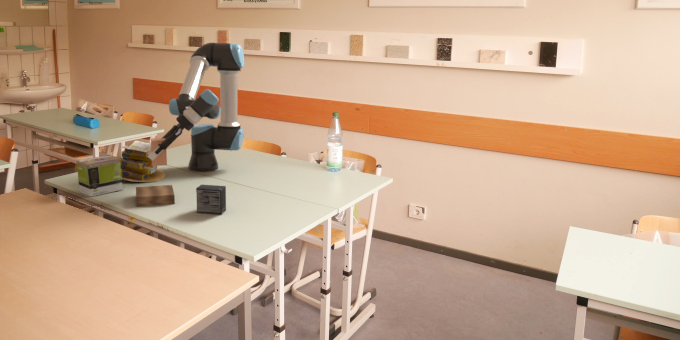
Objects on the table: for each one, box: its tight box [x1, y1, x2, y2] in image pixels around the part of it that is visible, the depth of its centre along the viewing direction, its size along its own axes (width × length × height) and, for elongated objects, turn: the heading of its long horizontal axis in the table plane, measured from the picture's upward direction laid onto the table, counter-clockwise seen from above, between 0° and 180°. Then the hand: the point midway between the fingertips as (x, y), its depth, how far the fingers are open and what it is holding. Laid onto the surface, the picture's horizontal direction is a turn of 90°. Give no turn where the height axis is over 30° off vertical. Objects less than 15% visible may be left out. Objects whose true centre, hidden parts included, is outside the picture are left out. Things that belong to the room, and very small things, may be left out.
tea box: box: [76, 154, 123, 197], centre depth 236 cm, size 15×10×15 cm, turn 141°
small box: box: [195, 184, 227, 215], centre depth 218 cm, size 11×6×10 cm, turn 84°
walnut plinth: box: [135, 184, 176, 207], centre depth 230 cm, size 15×15×4 cm
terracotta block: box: [150, 137, 168, 167], centre depth 233 cm, size 6×5×11 cm
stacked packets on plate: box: [119, 140, 166, 183], centre depth 261 cm, size 25×25×17 cm
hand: (150, 157), depth 232 cm, fingers closed on terracotta block, 5 cm apart
